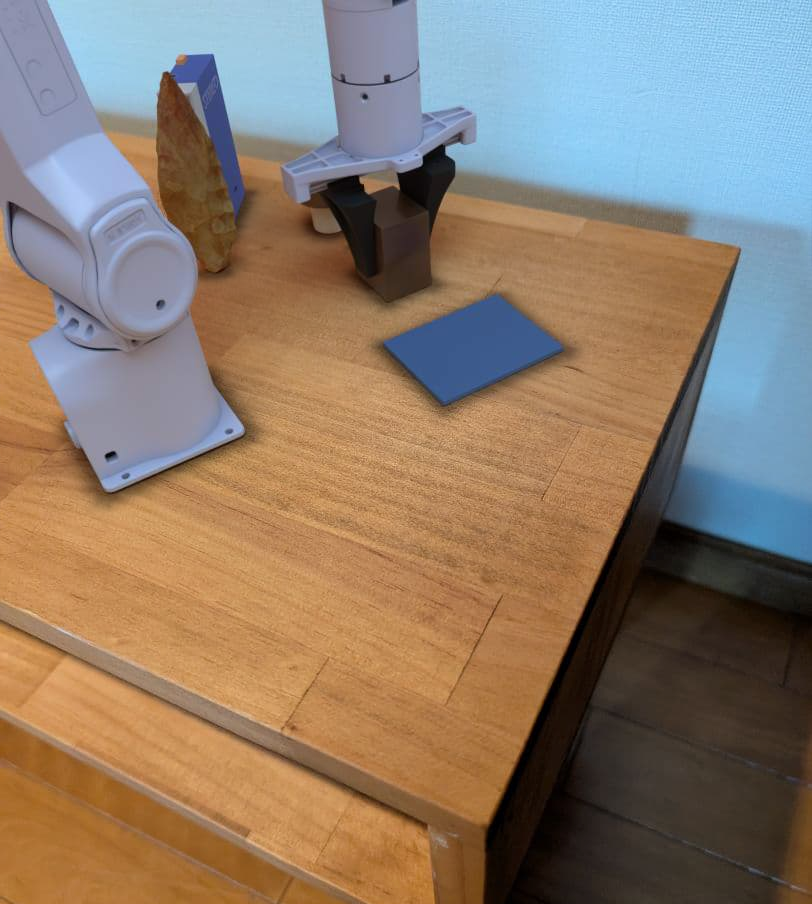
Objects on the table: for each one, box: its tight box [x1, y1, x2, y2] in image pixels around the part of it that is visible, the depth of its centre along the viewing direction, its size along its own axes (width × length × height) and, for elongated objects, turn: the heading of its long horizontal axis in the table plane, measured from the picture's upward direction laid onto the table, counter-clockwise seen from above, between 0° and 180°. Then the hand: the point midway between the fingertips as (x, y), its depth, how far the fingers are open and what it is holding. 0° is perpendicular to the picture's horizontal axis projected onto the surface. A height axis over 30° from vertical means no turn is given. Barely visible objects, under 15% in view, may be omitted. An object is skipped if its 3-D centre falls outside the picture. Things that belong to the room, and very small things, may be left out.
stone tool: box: [155, 70, 237, 274], centre depth 58 cm, size 5×2×15 cm, turn 121°
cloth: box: [382, 293, 565, 407], centre depth 55 cm, size 10×8×1 cm
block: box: [355, 185, 432, 303], centre depth 59 cm, size 4×5×6 cm
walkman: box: [156, 53, 246, 221], centre depth 65 cm, size 8×3×12 cm, turn 176°
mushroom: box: [299, 192, 342, 235], centre depth 65 cm, size 5×5×6 cm
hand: (391, 261), depth 60 cm, fingers closed on block, 4 cm apart
